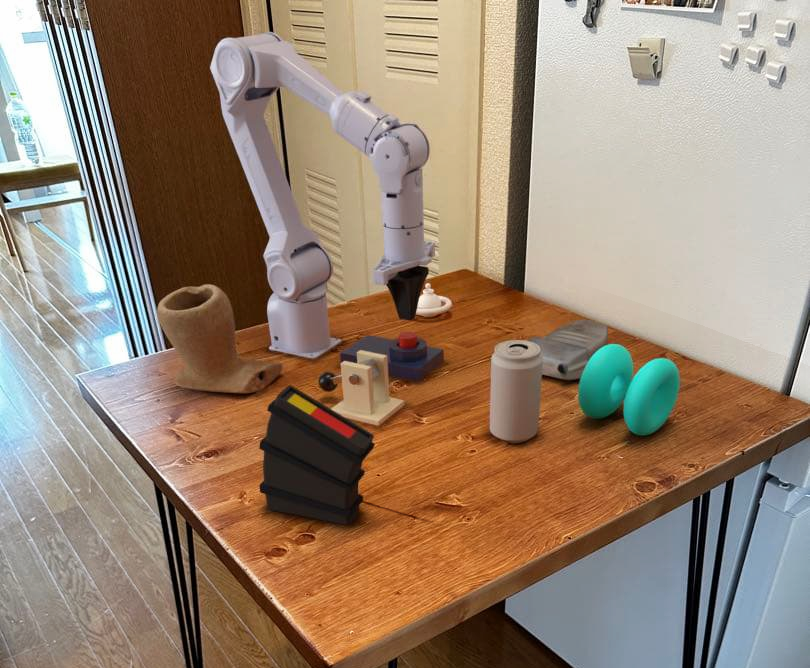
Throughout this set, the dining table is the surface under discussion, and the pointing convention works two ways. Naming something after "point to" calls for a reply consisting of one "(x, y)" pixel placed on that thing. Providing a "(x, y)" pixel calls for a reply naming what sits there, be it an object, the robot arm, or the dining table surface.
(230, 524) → the dining table surface
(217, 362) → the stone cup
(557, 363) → the handheld device
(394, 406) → the switch box
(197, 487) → the dining table surface
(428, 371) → the push button base
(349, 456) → the magazine
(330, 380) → the toggle
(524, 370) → the beverage can
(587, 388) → the turquoise spool
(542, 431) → the dining table surface
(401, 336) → the red push button
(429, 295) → the ring around a ball
